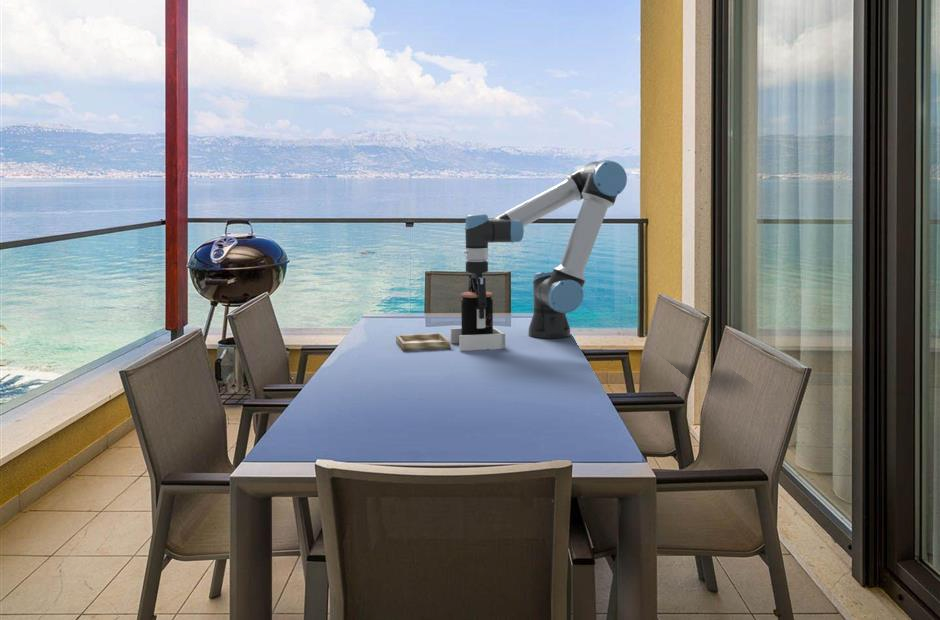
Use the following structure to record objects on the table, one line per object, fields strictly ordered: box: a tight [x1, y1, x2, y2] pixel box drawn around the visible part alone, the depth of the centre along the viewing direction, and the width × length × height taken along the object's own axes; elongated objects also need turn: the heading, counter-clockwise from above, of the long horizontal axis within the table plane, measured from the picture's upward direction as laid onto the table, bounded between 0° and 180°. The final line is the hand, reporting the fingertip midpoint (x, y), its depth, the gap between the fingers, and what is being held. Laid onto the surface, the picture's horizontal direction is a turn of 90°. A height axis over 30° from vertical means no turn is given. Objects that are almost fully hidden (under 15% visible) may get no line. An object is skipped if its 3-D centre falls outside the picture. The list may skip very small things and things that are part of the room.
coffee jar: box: [460, 291, 494, 335], centre depth 288 cm, size 11×11×18 cm
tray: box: [395, 332, 451, 352], centre depth 290 cm, size 16×16×2 cm
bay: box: [450, 326, 506, 352], centre depth 289 cm, size 15×15×5 cm
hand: (477, 325), depth 288 cm, fingers closed on coffee jar, 11 cm apart
